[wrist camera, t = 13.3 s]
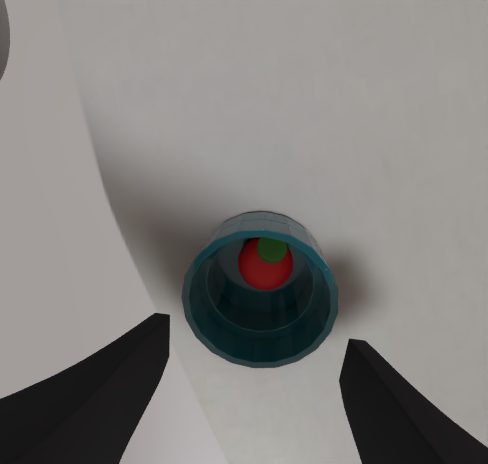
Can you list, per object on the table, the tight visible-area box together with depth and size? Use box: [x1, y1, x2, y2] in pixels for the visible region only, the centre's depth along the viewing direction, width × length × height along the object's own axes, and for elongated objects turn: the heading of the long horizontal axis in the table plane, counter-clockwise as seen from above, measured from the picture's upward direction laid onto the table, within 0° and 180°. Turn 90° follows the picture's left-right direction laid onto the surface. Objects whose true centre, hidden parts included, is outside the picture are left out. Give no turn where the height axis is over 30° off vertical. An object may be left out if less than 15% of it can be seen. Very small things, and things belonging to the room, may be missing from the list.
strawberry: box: [238, 237, 293, 290], centre depth 16 cm, size 3×3×4 cm
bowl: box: [182, 212, 338, 368], centre depth 16 cm, size 8×8×4 cm
